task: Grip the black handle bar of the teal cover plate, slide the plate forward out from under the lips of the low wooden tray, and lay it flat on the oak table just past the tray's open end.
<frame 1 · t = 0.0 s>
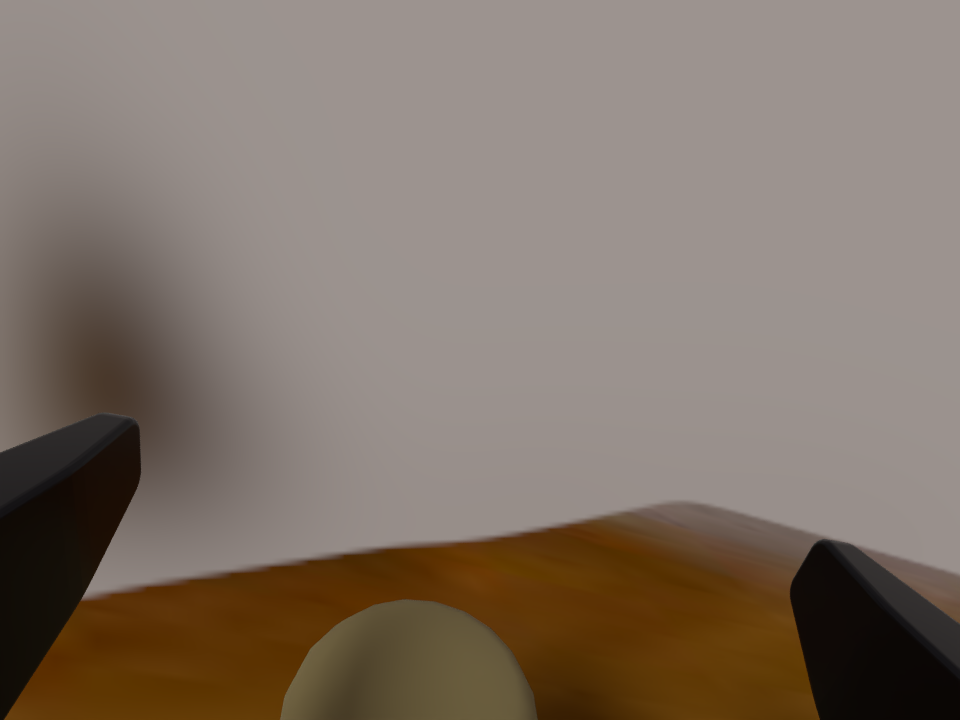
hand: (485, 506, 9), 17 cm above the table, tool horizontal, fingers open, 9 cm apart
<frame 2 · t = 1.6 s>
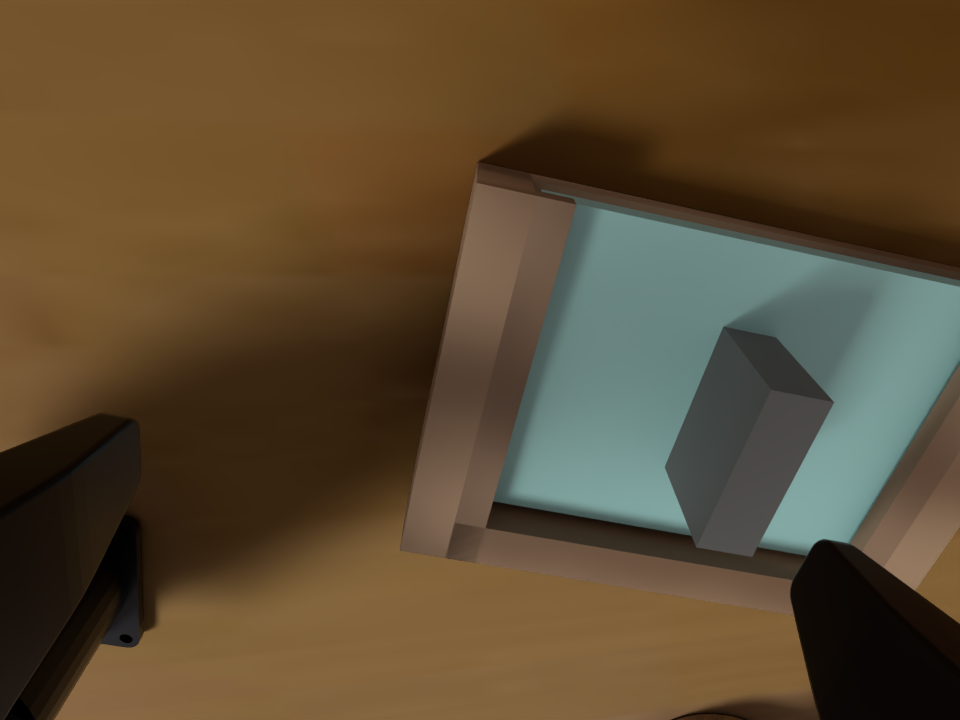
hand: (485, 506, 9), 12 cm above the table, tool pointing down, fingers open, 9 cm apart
wooden tray: (693, 400, 22), on the table
cover plate: (709, 392, 21), point 1 cm above the table, touching wooden tray
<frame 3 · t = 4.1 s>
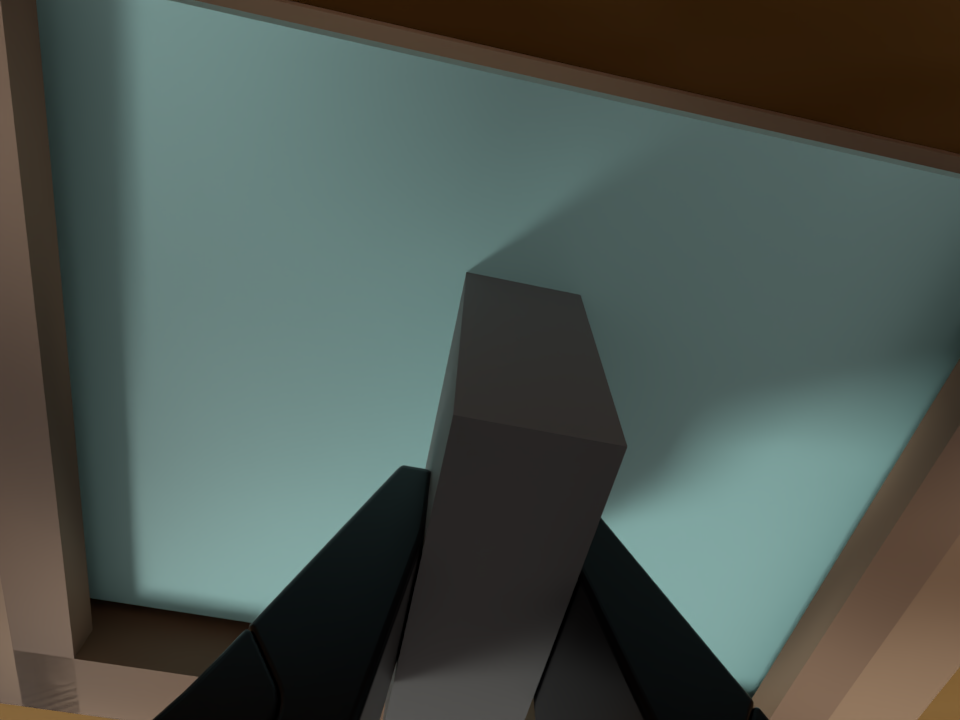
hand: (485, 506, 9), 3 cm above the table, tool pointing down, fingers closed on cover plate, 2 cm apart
wooden tray: (477, 419, 12), on the table
cover plate: (486, 405, 11), point 1 cm above the table, touching gripper, wooden tray
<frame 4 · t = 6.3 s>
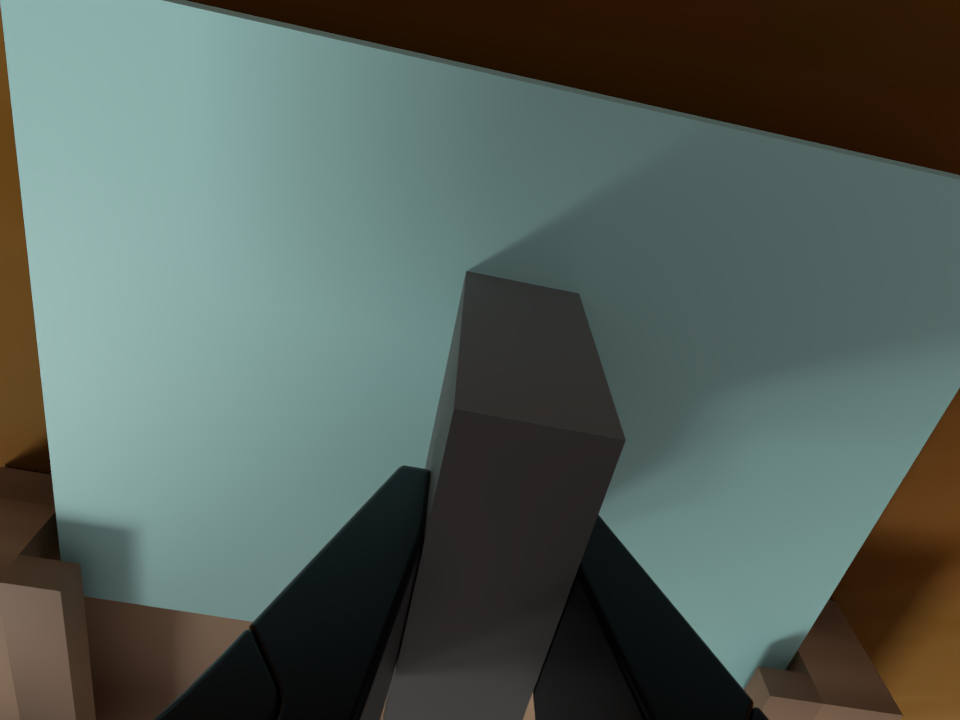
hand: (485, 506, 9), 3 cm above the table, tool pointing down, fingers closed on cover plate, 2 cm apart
cover plate: (485, 404, 11), point 1 cm above the table, touching gripper
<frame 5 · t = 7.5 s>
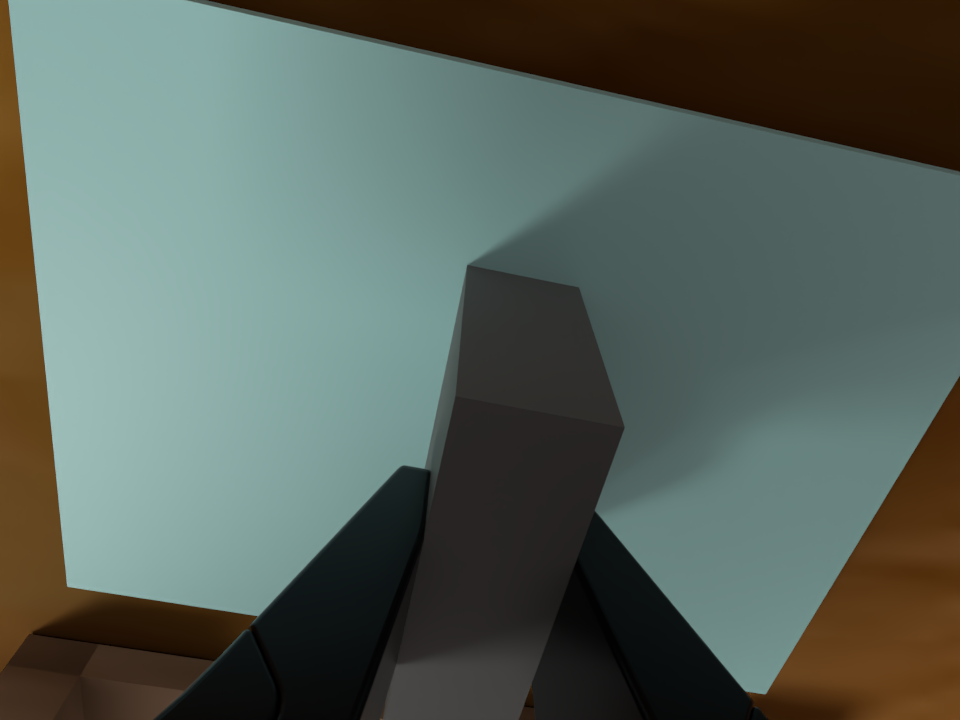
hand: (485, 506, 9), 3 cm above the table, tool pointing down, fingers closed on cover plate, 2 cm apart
cover plate: (486, 398, 11), point 1 cm above the table, touching gripper
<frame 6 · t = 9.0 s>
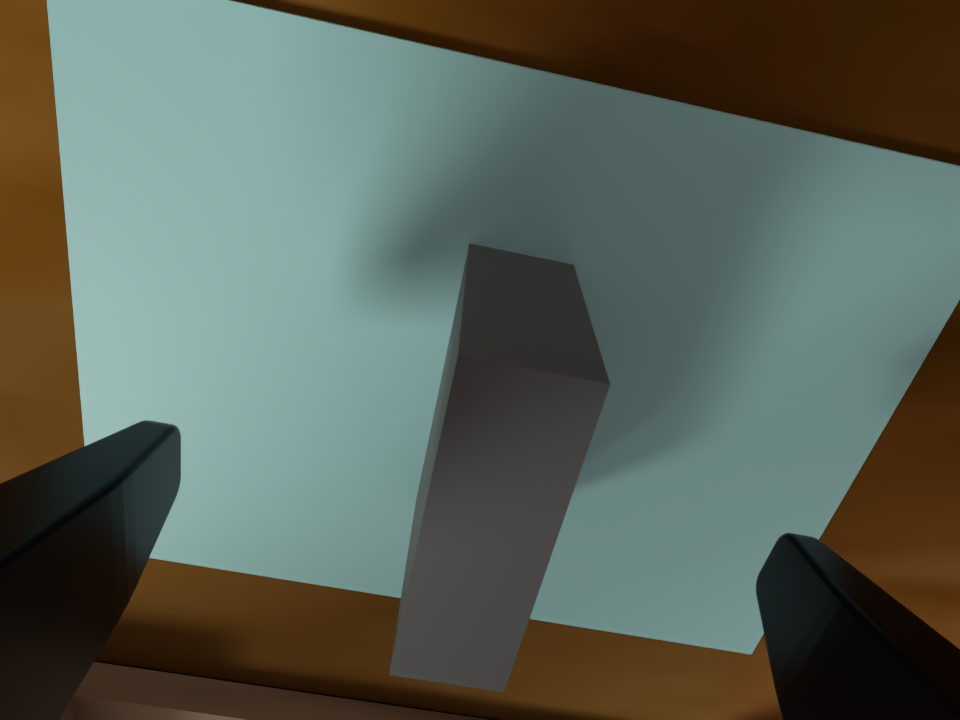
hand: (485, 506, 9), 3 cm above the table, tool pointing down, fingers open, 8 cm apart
cover plate: (487, 371, 12), on the table
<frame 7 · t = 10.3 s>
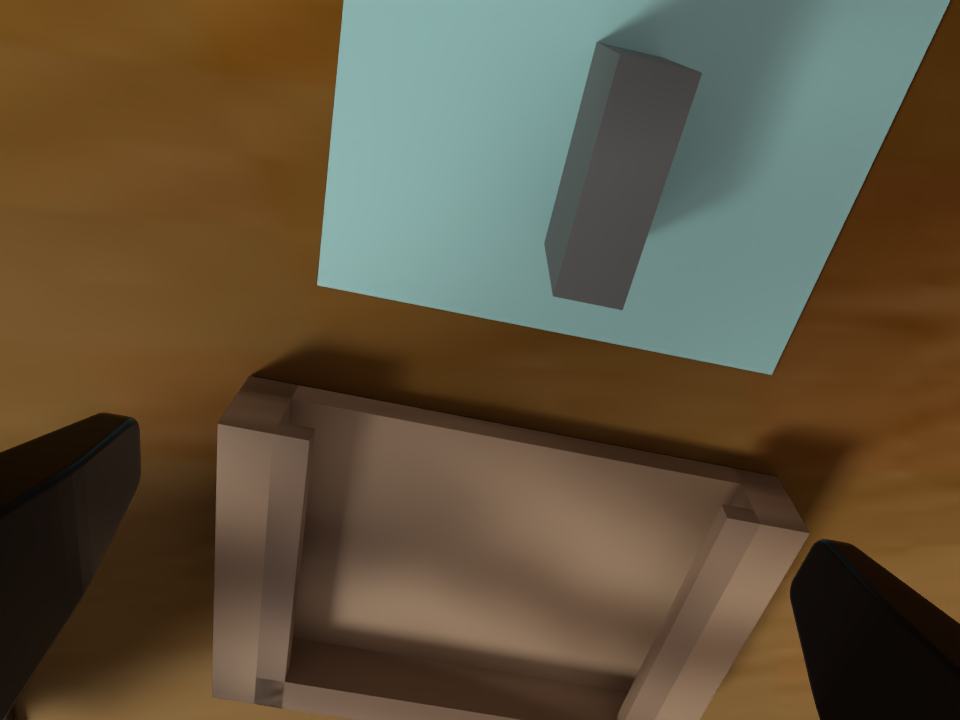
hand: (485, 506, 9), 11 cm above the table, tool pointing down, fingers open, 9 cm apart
wooden tray: (482, 563, 24), on the table
cover plate: (595, 150, 18), on the table
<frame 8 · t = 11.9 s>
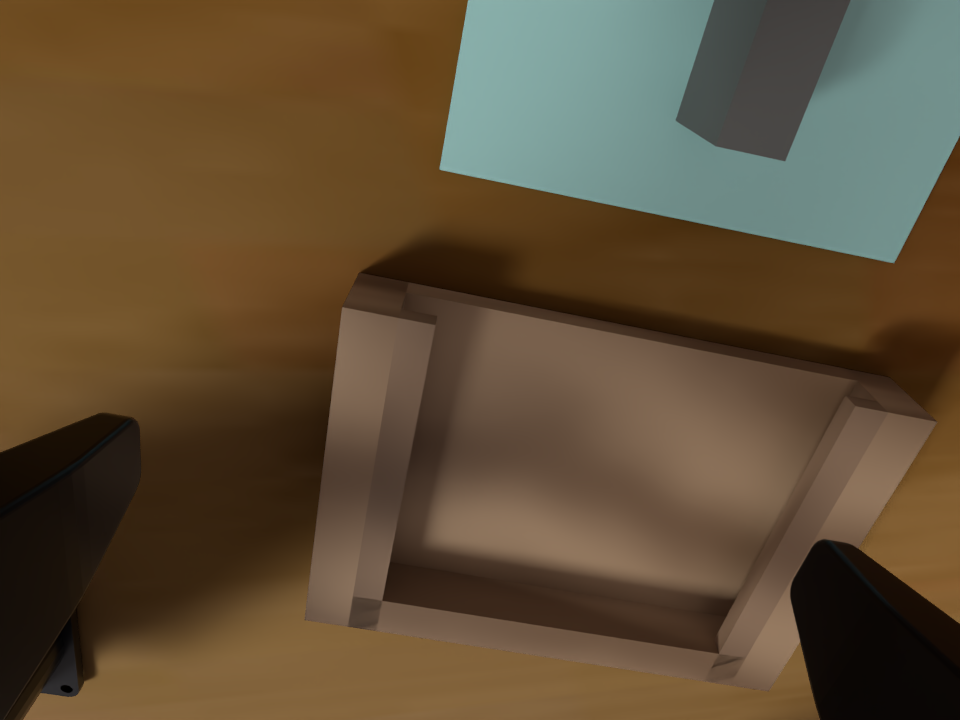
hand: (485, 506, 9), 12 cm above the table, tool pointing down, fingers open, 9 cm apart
wooden tray: (580, 479, 24), on the table
cover plate: (729, 22, 17), on the table
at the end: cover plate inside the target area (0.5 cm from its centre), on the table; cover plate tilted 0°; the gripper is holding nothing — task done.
